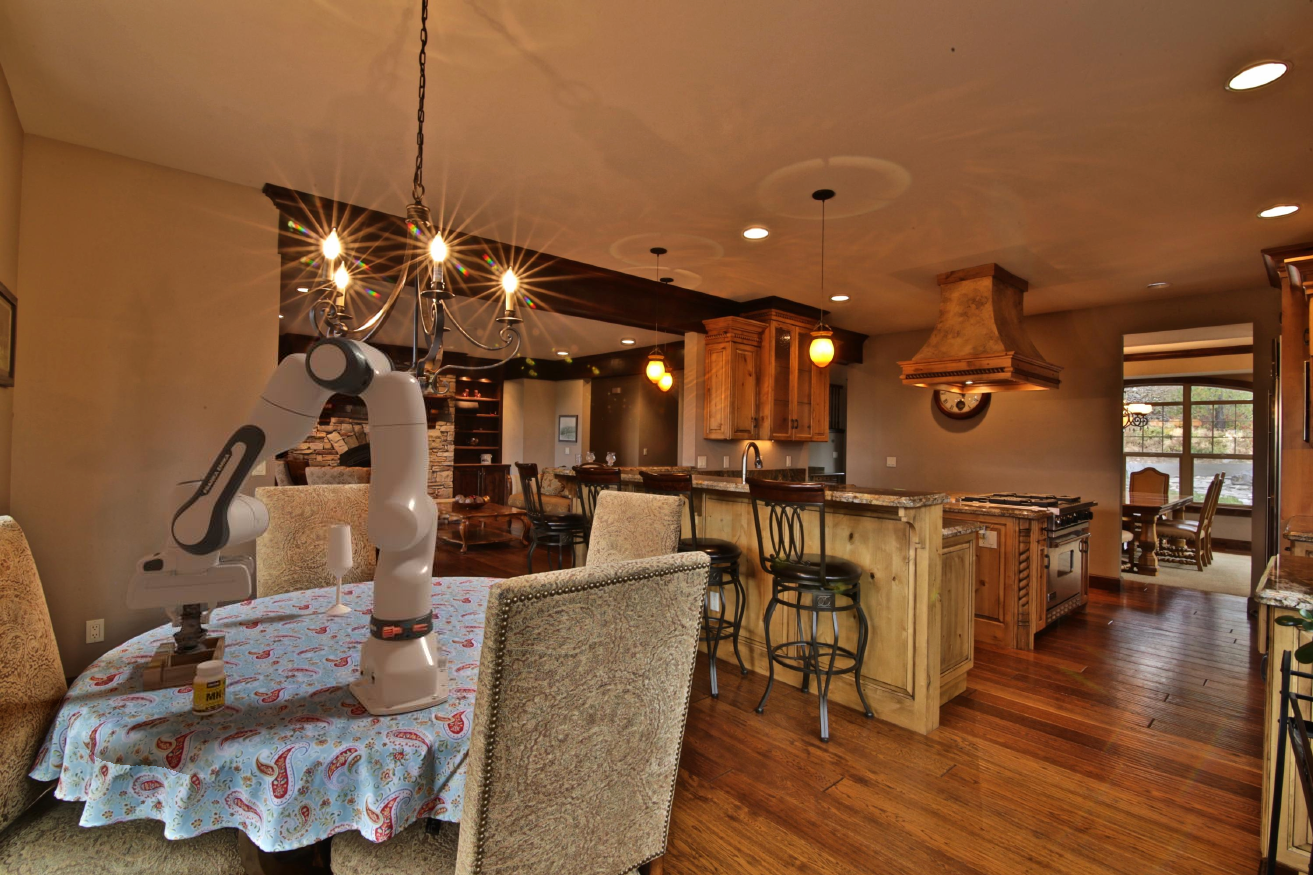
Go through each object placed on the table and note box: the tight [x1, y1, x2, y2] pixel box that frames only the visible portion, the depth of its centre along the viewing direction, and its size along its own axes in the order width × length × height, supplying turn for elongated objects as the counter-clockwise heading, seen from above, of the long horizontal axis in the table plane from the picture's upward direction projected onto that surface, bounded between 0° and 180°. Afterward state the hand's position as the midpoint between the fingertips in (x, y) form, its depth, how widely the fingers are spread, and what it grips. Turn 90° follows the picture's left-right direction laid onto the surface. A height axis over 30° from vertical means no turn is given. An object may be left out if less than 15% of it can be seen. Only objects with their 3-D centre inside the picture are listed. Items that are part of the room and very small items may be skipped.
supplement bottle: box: [192, 660, 227, 716], centre depth 109 cm, size 5×5×8 cm
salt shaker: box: [172, 603, 210, 655], centre depth 123 cm, size 6×6×12 cm
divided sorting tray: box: [142, 635, 226, 692], centre depth 126 cm, size 18×12×4 cm, turn 31°
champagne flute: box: [324, 524, 354, 615], centre depth 169 cm, size 7×7×24 cm
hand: (191, 625), depth 123 cm, fingers closed on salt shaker, 3 cm apart
